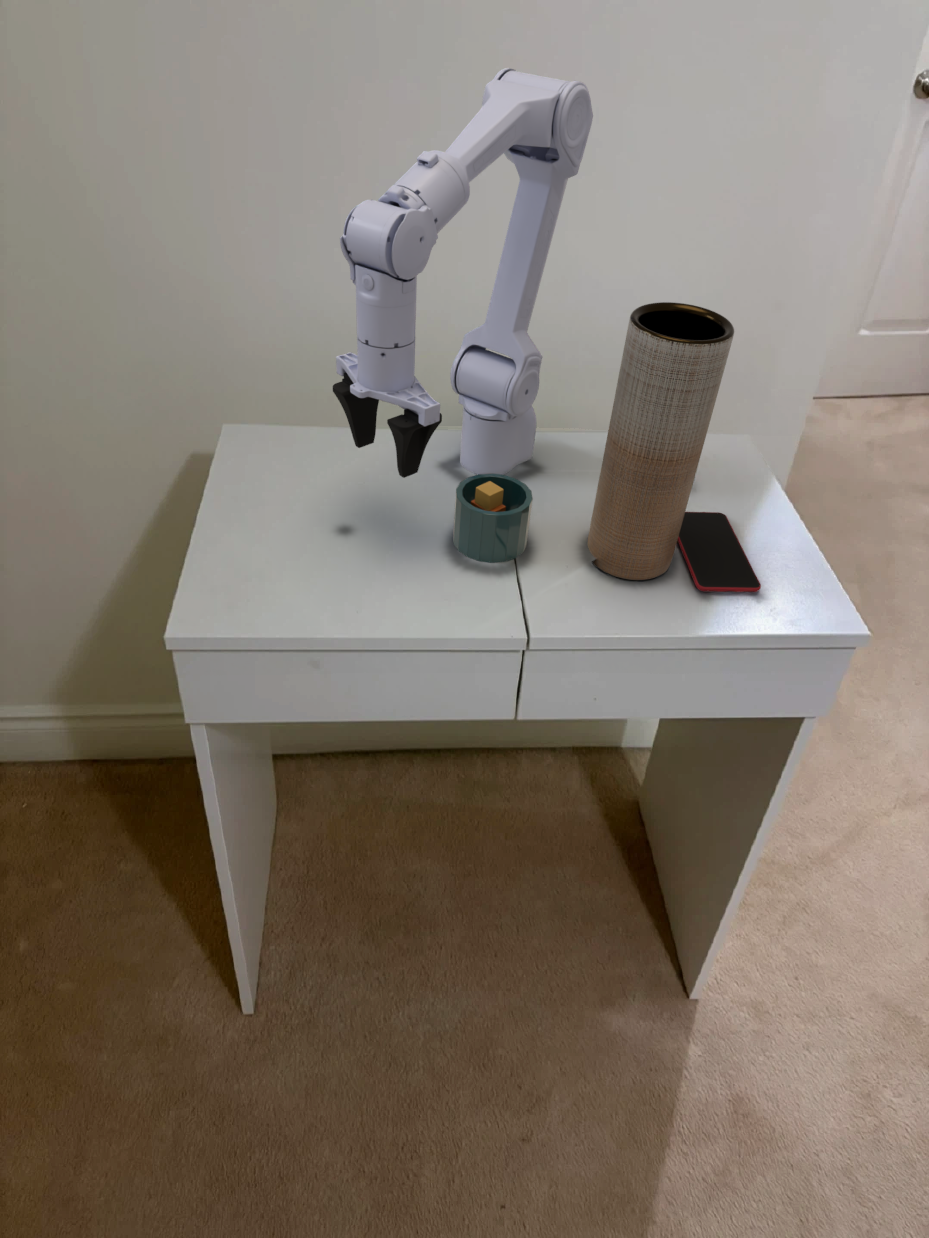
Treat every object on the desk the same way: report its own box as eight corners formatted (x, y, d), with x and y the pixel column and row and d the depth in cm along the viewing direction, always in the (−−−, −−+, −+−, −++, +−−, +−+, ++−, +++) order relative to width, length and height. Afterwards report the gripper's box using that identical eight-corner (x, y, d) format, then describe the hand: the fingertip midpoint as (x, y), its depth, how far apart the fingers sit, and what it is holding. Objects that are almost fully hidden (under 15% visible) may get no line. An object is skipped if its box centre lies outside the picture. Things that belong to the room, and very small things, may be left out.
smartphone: (698, 587, 93) (667, 510, 104) (696, 594, 94) (665, 517, 105) (763, 588, 94) (725, 512, 105) (761, 595, 94) (723, 518, 106)
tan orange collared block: (467, 545, 97) (482, 537, 99) (486, 558, 96) (501, 550, 97) (471, 485, 92) (487, 478, 93) (492, 498, 90) (507, 490, 92)
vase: (654, 529, 103) (711, 301, 85) (683, 579, 96) (752, 341, 78) (575, 533, 101) (617, 301, 83) (599, 584, 94) (650, 342, 76)
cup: (489, 519, 102) (495, 465, 98) (540, 552, 98) (548, 497, 93) (437, 544, 98) (440, 489, 93) (488, 580, 93) (493, 524, 89)
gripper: (309, 321, 84) (316, 442, 93) (401, 373, 77) (399, 500, 86) (365, 306, 88) (367, 424, 97) (459, 355, 81) (451, 478, 89)
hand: (386, 458), depth 92 cm, fingers open, 7 cm apart
